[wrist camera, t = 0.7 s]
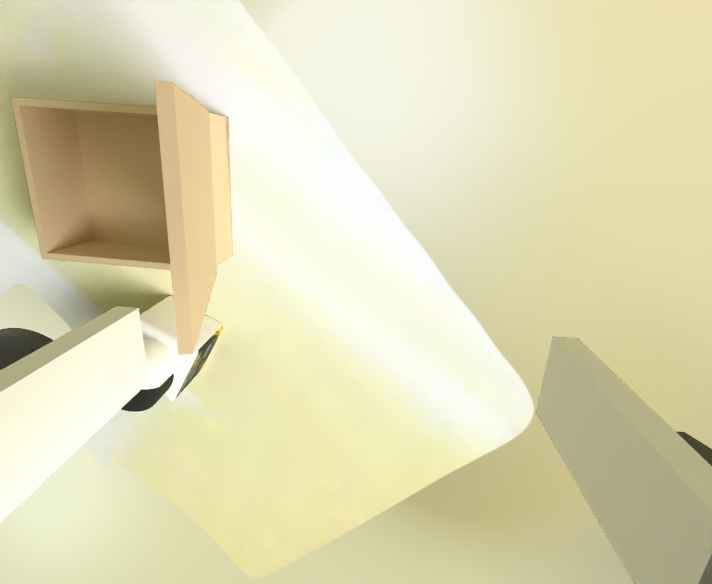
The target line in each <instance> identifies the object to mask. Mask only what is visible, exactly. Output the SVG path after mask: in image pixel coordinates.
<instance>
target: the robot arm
mask: <svg viewBox="0 0 712 584" xmlns="http://www.w3.org/2000/svg"><path fill="white" fill-rule="evenodd" d="M148 383H149V377H148V370H147V363H146V356H145V349H144V342H143V335H142V328H141V321H140V314H139V308H132V307H118V306H116V307H114V308H112V309H110V310H109V311H107V312H105V313H103V314H101V315H99V316H98V317H96V318H94V319H92V320H90V321H89V322H87V323H85V324H83V325H81V326H80V327H78V328H76V329H74V330H72V331H71V332H69V333H67V334H65V335H63V336H62V337H60V338H58V339H56V340H54V341H53V340H52V339H50V338H48V337H46V336H44V335H42V334H40V333H37V332H34V331H31V330H26V329H21V328H8V329H1V330H0V523H1V522H2V521H3V520H4V519H5V518H6V517H7V516H8V515H9V514H10V513H11V512H12V511H14V509H16V507H18V506H19V505H20V504H21V503H22V502H23V501H24V500H25V499H26V498H27V497H28V496H29V495H30V494H31V493H33V492H34V491H35V490H36V489H37V488H38V487H39V486H40V485H41V484H42V483H43V482H44V481H45V480H46V479H47V478H48V477H49V476H50V475H52V474H53V473H54V472H55V471H56V470H57V469H58V468H59V467H60V466H61V465H62V464H63V463H64V462H65V461H66V460H67V459H68V458H69V457H71V456H72V454H74V453H75V452H76V451H77V450H78V449H79V448H80V447H81V446H82V445H83V444H84V443H85V442H86V441H87V440H89V439H90V438H91V437H92V436H93V435H94V434H95V433H96V432H97V431H98V430H99V429H100V428H101V427H102V426H103V425H104V424H105V423H106V422H108V421H109V420H110V419H111V418H112V417H113V416H114V415H115V414H116V413H117V412H118V411H119V410H120V409H121V408H122V407H123V406H124V405H125V404H127V403H128V402H129V401H130V400H131V399H132V398H133V397H134V396H135V395H136V394H137V393H138V392H139V391H140V390H141V389H142V388H143V387H144V386H146V385H147V384H148ZM536 414H537V416H538V417H539V419H540V421H541V423H542V425H543V426H544V428H545V430H546V432H547V433H548V435H549V437H550V439H551V440H552V442H553V444H554V446H555V447H556V449H557V451H558V453H559V454H560V456H561V458H562V459H563V461H564V463H565V465H566V466H567V468H568V470H569V471H570V473H571V475H572V477H573V479H574V480H575V482H576V484H577V486H578V487H579V489H580V491H581V493H582V494H583V496H584V498H585V500H586V501H587V503H588V505H589V506H590V508H591V510H592V512H593V513H594V515H595V517H596V519H597V520H598V522H599V524H600V526H601V527H602V529H603V531H604V533H605V534H606V536H607V538H608V540H609V541H610V543H611V545H612V547H613V548H614V550H615V552H616V554H617V555H618V557H619V559H620V560H621V562H622V564H623V566H624V567H625V569H626V571H627V573H628V574H629V576H630V578H631V580H632V581H633V583H634V584H712V449H710V448H709V447H708V446H706V445H704V444H703V443H701V442H699V441H698V440H696V439H695V438H693V437H691V436H690V435H688V434H686V433H685V432H676V431H674V430H673V429H672V428H671V427H670V426H669V425H668V424H667V423H666V422H665V421H664V420H663V419H662V418H661V417H660V416H659V415H658V414H657V413H656V412H655V411H654V410H652V409H651V407H649V406H648V405H647V404H646V403H645V402H644V401H643V400H642V399H641V398H640V397H639V396H638V395H637V394H636V393H635V392H634V391H633V390H632V389H631V388H630V387H628V385H627V384H626V383H624V382H623V381H622V380H621V379H620V378H619V377H618V376H617V375H616V374H615V373H614V372H613V371H612V370H611V369H610V368H609V367H608V366H607V365H605V363H604V362H603V361H602V360H600V359H599V358H598V357H597V356H596V355H595V354H594V353H593V352H592V351H591V350H590V349H589V348H588V347H587V346H586V345H585V344H584V343H583V342H582V341H581V340H580V339H579V338H567V337H552V342H551V347H550V351H549V356H548V360H547V364H546V369H545V374H544V378H543V382H542V387H541V391H540V396H539V401H538V405H537V410H536Z"/></svg>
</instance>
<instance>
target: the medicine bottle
mask: <svg viewBox="0 0 712 584" xmlns="http://www.w3.org/2000/svg"><path fill="white" fill-rule="evenodd" d="M140 321H141V328H142V335H143V342H144V349H145V356H146V363H147V370H148V377H149V383H148V384H147V385H146V386H144V387H143V388H142V389H141V390H140V391H139V392H138V393H137V394H136V395H135V396H134V397H133V398H132V399H131V400H130V401H129V402H128V403H127V404H125V405H124V406H123V407H122V408H121V409H122V410H126V411H144V410H147V409H149V408H151V407H152V406H153V405H154V404H155V403H156V402H157V401H158V400H159V399H160V398H161V397H164V398H166V399H168V400H170V401H173V400H175V399H176V398H177V396H178V395H179V394H180V393H181V392H182V391H183V390H184V388H185V387H186V386H187V385H188V384H189V383H190V382H191V380H192V379H193V378H194V377H195V376H196V375H197V374H198V373H199V371H200V370H201V369H202V367H203V365H204V363H205V362H206V360H207V358H208V356H209V354H210V352H211V350H212V348H213V346H214V344H215V342H216V340H217V339H218V337H219V335H220V333H221V331H222V329H223V325H222V324H221V323H219V322H217V321H216V320H214V319H212V318H210V317H208V316H207V315H205V316H204V319H203V323H202V326H201V329H200V333H199V336H198V340H197V343H196V347H195V350H194V353H193V354H184V355H178V346H177V334H176V323H175V311H174V300H173V296H168V297H167V298H165V299H163V300H162V301H160V302H159V303H157V304H156V305H154V306H152V307H151V308H149V309H148V310H146V311H145V312H143V313H141V314H140Z"/></svg>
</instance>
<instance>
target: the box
mask: <svg viewBox="0 0 712 584" xmlns="http://www.w3.org/2000/svg"><path fill="white" fill-rule="evenodd" d="M11 102H12V107H13V112H14V117H15V123H16V128H17V133H18V138H19V143H20V148H21V153H22V159H23V164H24V169H25V174H26V179H27V184H28V189H29V194H30V200H31V205H32V210H33V215H34V220H35V225H36V230H37V235H38V241H39V246H40V251H41V256H42V259H52V260H63V261H75V262H86V263H97V264H109V265H120V266H131V267H143V268H154V269H165V270H171V266H170V254H169V243H168V231H167V220H166V208H165V197H164V186H163V174H162V163H161V151H160V140H159V128H158V117H157V107H152V106H137V105H122V104H107V103H91V102H76V101H61V100H46V99H31V98H16V97H11ZM209 120H210V140H211V161H212V181H213V202H214V223H215V243H216V264H217V265H219V264H220V263H222V262H223V261H225V260H227V259H228V258H230V257H231V256H233V243H232V214H231V185H230V156H229V127H228V117H226V116H221V115H217V114H213V113H209Z"/></svg>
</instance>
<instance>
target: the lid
mask: <svg viewBox="0 0 712 584" xmlns="http://www.w3.org/2000/svg"><path fill="white" fill-rule="evenodd" d="M154 83H155V94H156V106H157V117H158V128H159V140H160V151H161V163H162V174H163V186H164V197H165V208H166V220H167V231H168V243H169V254H170V266H171V277H172V288H173V300H174V311H175V323H176V334H177V346H178V355H184V354H193V353H194V350H195V347H196V343H197V340H198V336H199V333H200V329H201V326H202V323H203V319H204V316H205V312H206V309H207V306H208V302H209V299H210V295H211V292H212V288H213V285H214V282H215V278H216V275H217V264H216V243H215V223H214V202H213V181H212V161H211V140H210V120H209V110H208V109H206V108H205V107H204V106H203V105H201V104H200V103H199V102H198V101H196V100H195V99H194V98H192V97H191V96H190V95H189V94H187V93H186V92H185V91H184V90H182V89H181V88H180V87H178V86H177V85H176V84H175V83H173V82H164V81H154Z"/></svg>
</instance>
